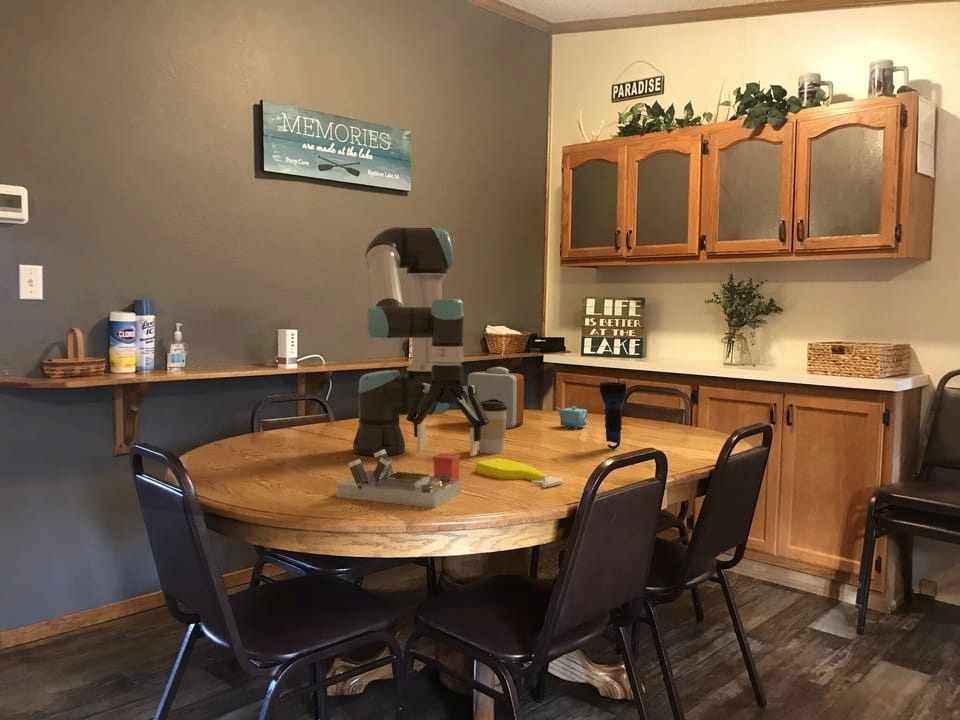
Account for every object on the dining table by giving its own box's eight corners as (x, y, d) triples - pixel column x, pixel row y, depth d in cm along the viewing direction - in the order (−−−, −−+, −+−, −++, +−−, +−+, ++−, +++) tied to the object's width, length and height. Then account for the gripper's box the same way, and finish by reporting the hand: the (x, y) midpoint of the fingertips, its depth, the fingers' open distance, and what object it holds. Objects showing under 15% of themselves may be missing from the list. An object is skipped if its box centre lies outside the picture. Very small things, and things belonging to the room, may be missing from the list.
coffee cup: (503, 455, 223) (504, 403, 222) (473, 453, 225) (473, 402, 224) (509, 449, 232) (509, 399, 231) (479, 447, 234) (479, 398, 233)
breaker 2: (381, 473, 184) (373, 453, 184) (386, 471, 186) (378, 451, 186) (388, 470, 183) (380, 450, 184) (392, 468, 185) (384, 449, 186)
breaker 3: (371, 475, 178) (381, 457, 177) (376, 473, 180) (386, 455, 179) (378, 479, 177) (387, 461, 176) (383, 477, 180) (392, 459, 178)
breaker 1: (356, 484, 173) (347, 463, 173) (361, 482, 175) (353, 461, 175) (362, 481, 172) (354, 460, 172) (368, 479, 174) (359, 458, 175)
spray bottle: (501, 467, 208) (571, 486, 190) (471, 473, 201) (541, 493, 183) (501, 457, 208) (572, 474, 190) (471, 462, 201) (541, 480, 183)
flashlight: (593, 447, 236) (594, 381, 235) (614, 445, 240) (615, 380, 238) (609, 452, 229) (610, 384, 227) (630, 450, 233) (632, 383, 231)
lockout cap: (432, 486, 186) (432, 457, 185) (441, 481, 190) (441, 453, 190) (452, 487, 184) (452, 458, 183) (460, 483, 189) (460, 454, 188)
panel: (336, 497, 174) (336, 478, 174) (368, 482, 188) (368, 465, 188) (434, 508, 166) (434, 488, 166) (461, 492, 180) (461, 474, 180)
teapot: (551, 427, 274) (551, 406, 273) (558, 425, 279) (559, 404, 278) (583, 430, 268) (583, 408, 267) (590, 428, 273) (590, 406, 272)
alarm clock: (524, 426, 276) (524, 368, 274) (511, 429, 268) (512, 369, 267) (479, 421, 285) (480, 365, 284) (466, 424, 278) (467, 366, 276)
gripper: (392, 363, 186) (392, 451, 187) (491, 366, 177) (490, 459, 178) (406, 361, 193) (406, 446, 194) (502, 364, 184) (501, 453, 185)
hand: (447, 453), depth 186 cm, fingers open, 13 cm apart
